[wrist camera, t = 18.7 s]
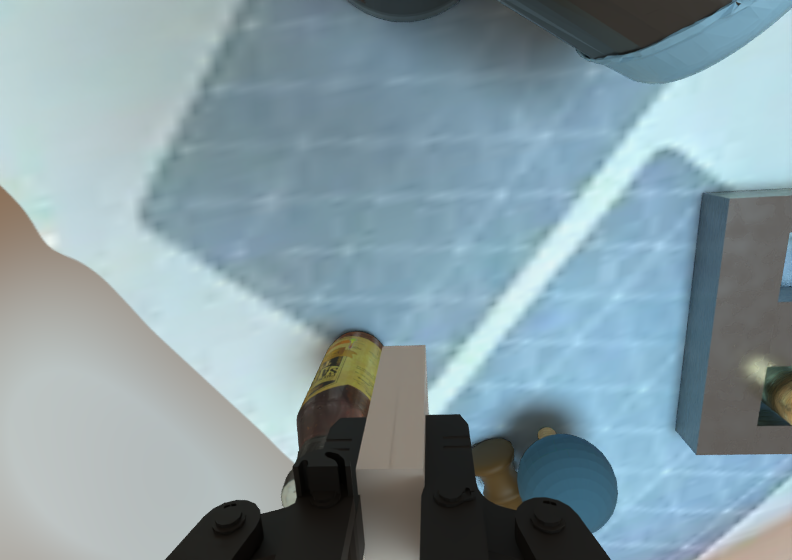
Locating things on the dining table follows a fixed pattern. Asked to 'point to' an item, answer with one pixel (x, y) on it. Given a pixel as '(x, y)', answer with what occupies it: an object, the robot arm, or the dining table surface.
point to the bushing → (779, 391)
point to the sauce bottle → (336, 394)
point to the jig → (737, 325)
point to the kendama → (497, 472)
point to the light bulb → (569, 476)
